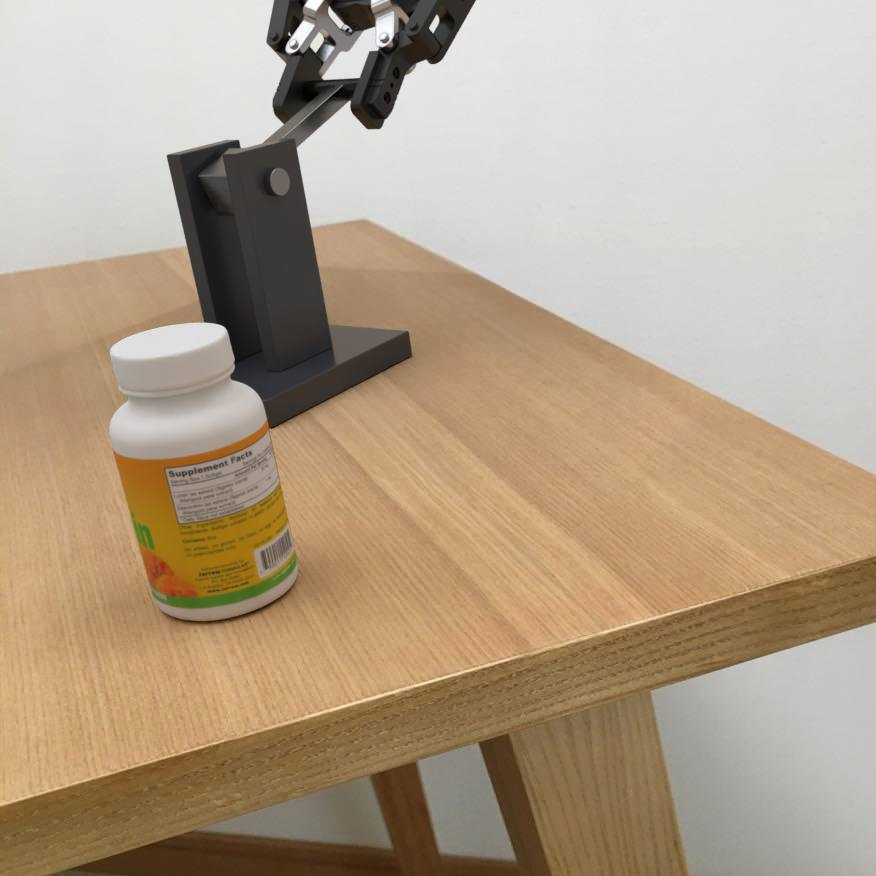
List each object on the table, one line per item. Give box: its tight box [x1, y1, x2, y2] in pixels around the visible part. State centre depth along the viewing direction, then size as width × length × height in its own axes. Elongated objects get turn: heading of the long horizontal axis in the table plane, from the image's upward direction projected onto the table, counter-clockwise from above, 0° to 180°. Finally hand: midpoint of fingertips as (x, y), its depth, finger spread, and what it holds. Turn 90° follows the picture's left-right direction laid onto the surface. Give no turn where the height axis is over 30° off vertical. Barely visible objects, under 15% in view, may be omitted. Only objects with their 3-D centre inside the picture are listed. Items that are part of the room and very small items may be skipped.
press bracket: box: [166, 138, 413, 428], centre depth 66 cm, size 12×10×13 cm
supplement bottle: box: [108, 322, 299, 622], centre depth 44 cm, size 5×5×10 cm
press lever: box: [198, 77, 360, 216], centre depth 67 cm, size 12×5×2 cm, turn 149°
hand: (325, 120), depth 69 cm, fingers closed on press lever, 5 cm apart
